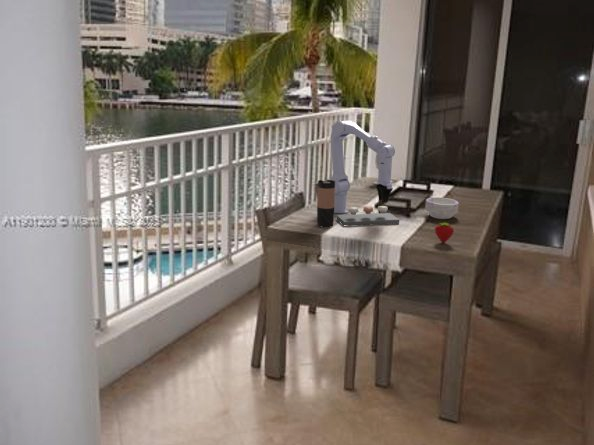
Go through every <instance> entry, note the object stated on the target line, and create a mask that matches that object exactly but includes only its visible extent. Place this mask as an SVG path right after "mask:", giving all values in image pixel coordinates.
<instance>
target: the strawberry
mask: <svg viewBox="0 0 594 445" xmlns="http://www.w3.org/2000/svg"><path fill="white" fill-rule="evenodd" d="M451 225H452V224H451V223H448V222H445V220H443V221H442V222H438V224H437V225H436V226H435V228H434V231H435V232H434V233H435V235H436V236H437V238H438V239H439V241H440V242H441V243H443V244H445V243H446V242H447V241H448V240H449V239H450V238H451V237H452V236H453V234H454V228H453V227H452V226H451Z"/></svg>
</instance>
